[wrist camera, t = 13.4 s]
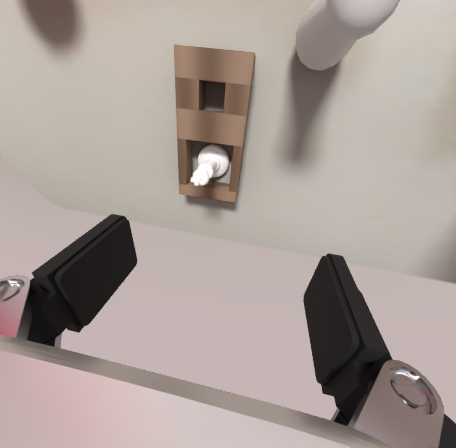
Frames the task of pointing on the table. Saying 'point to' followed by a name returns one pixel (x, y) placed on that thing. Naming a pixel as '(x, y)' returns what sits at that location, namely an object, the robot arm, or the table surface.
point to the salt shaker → (337, 28)
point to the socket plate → (211, 112)
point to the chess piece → (210, 164)
